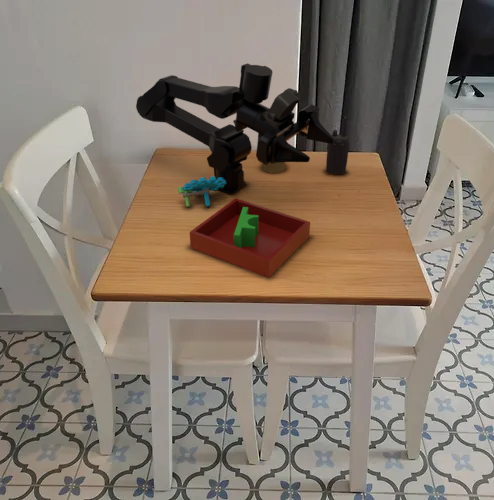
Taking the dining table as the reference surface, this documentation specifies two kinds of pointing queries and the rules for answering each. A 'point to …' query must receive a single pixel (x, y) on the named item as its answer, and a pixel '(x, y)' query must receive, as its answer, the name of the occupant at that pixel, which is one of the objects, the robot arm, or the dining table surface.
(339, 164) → the two-way radio
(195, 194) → the blue toy dinosaur
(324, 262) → the dining table surface
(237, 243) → the pipe clamp
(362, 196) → the dining table surface
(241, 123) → the robot arm
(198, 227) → the open red box
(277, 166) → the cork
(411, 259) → the dining table surface
